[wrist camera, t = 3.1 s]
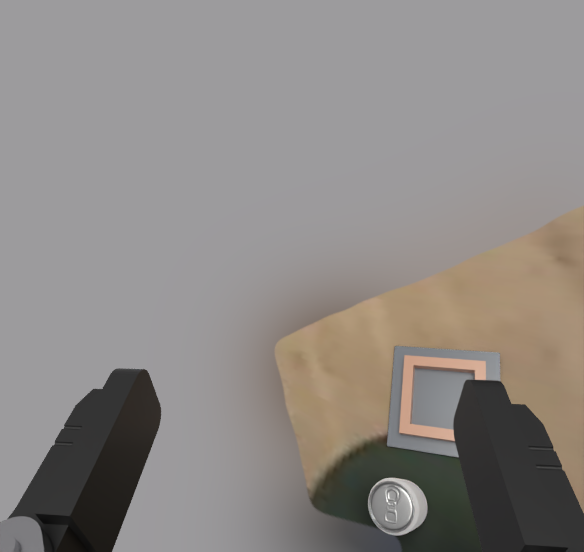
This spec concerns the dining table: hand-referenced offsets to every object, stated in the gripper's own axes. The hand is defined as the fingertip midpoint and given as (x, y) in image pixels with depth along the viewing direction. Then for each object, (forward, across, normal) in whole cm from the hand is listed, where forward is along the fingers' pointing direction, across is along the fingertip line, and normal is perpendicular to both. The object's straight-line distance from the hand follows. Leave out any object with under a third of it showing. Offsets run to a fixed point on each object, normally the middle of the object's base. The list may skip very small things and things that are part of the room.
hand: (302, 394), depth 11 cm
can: (+24, +12, -56) cm, 62 cm away
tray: (+36, +18, -47) cm, 62 cm away
